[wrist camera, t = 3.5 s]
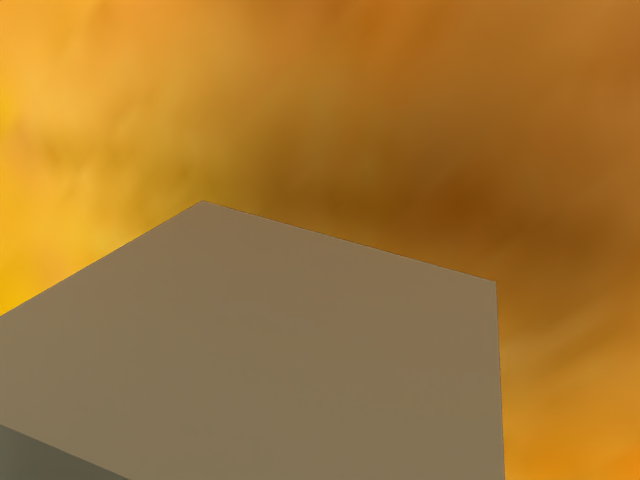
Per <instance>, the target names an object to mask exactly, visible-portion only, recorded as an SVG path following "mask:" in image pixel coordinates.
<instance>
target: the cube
mask: <svg viewBox="0 0 640 480" xmlns="http://www.w3.org/2000/svg"><path fill="white" fill-rule="evenodd" d="M0 480H505V469H504V447H503V424H502V401H501V378H500V355H499V332H498V310H497V287H496V282H495V281H491V280H488V279H484V278H480V277H477V276H473V275H469V274H466V273H462V272H459V271H455V270H451V269H448V268H444V267H441V266H437V265H433V264H430V263H426V262H423V261H419V260H415V259H412V258H408V257H404V256H401V255H397V254H394V253H390V252H386V251H383V250H379V249H376V248H372V247H368V246H365V245H361V244H358V243H354V242H350V241H347V240H343V239H339V238H336V237H332V236H329V235H325V234H321V233H318V232H314V231H311V230H307V229H303V228H300V227H296V226H293V225H289V224H285V223H282V222H278V221H274V220H271V219H267V218H264V217H260V216H256V215H253V214H249V213H246V212H242V211H238V210H235V209H231V208H228V207H224V206H220V205H217V204H213V203H209V202H206V201H200V202H199V203H197V204H195V205H193V206H192V207H190V208H188V209H187V210H185V211H183V212H181V213H180V214H178V215H176V216H174V217H173V218H171V219H169V220H167V221H166V222H164V223H162V224H160V225H159V226H157V227H155V228H153V229H152V230H150V231H148V232H146V233H145V234H143V235H141V236H139V237H138V238H136V239H134V240H133V241H131V242H129V243H127V244H126V245H124V246H122V247H120V248H119V249H117V250H115V251H113V252H112V253H110V254H108V255H106V256H105V257H103V258H101V259H99V260H98V261H96V262H94V263H92V264H91V265H89V266H87V267H85V268H84V269H82V270H80V271H78V272H77V273H75V274H73V275H72V276H70V277H68V278H66V279H65V280H63V281H61V282H59V283H58V284H56V285H54V286H52V287H51V288H49V289H47V290H45V291H44V292H42V293H40V294H38V295H37V296H35V297H33V298H31V299H30V300H28V301H26V302H24V303H23V304H21V305H19V306H17V307H16V308H14V309H12V310H11V311H9V312H7V313H5V314H4V315H2V316H0Z"/></svg>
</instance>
